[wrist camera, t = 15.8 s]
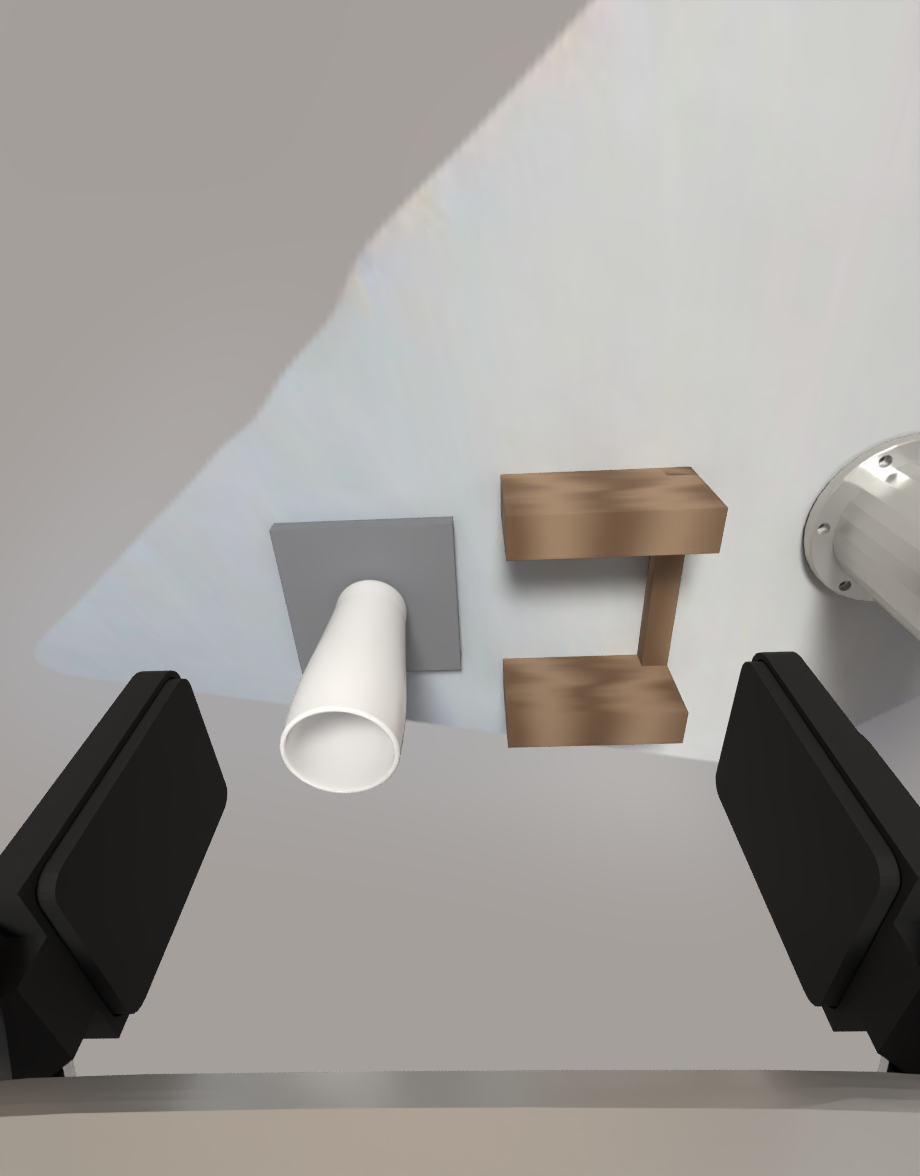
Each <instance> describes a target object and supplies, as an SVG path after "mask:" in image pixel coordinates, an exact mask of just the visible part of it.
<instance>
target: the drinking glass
mask: <svg viewBox="0 0 920 1176" xmlns="http://www.w3.org/2000/svg"><path fill="white" fill-rule="evenodd" d="M406 620H407V608H406V604H405V601H404V599H403V597H402V596H401V594H400V593H399V592H398V591H397V590H396V589H395V588H393V587H392V586H390V585H389V584H387V583H384V582H381V581H377V580H362V581H358V582H355V583H353V584H351V585H349V586H348V587H347V588H346V589H344V590H343V592H342V593H341V594H340V596H339V598H338V600H337V602H336V605H335V608H334V611H333V614H332V616H331V618H330V620H329V622H328V624H327V626H326V628H325V630H324V632H323V634H322V636H321V638H320V640H319V642H318V645H317V647H316V649H315V651H314V653H313V655H312V657H311V659H310V661H309V663H308V665H307V667H306V669H305V671H304V673H303V675H302V677H301V679H300V681H299V684H298V686H297V688H296V691H295V693H294V696H293V699H292V701H291V704H290V708H289V710H288V714H287V717H286V721H285V724H284V728H283V732H282V735H281V739H280V752H281V756H282V758H283V761H284V763H285V764H286V766H287V767H288V769H289V770H290V771H291V772H292V773H293V774H294V775H295V776H296V777H298V778H299V779H300V780H302V781H303V782H305V783H306V784H308V785H310V786H312V787H315V788H318V789H320V790H324V791H328V792H334V793H357V792H362V791H366V790H369V789H372V788H374V787H377V786H379V785H380V784H382V783H383V782H385V781H386V780H387V779H388V778H389V777H390V776H391V775H392V774H393V773H394V771H395V770H396V768H397V766H398V763H399V760H400V754H401V747H402V743H403V736H404V729H405V720H406V703H407V690H406Z"/></svg>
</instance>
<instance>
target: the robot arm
mask: <svg viewBox="0 0 920 1176" xmlns="http://www.w3.org/2000/svg"><path fill="white" fill-rule="evenodd" d="M804 549H805V556H806V559H807V561H808V564H809V566H810V568H811V570H812V571H813V572H814V574H815V575H816V576H817V578H818V579H819V580H820V581H821V582H822V583H824V584H825V585H826V586H827V587H828V588H829V589H830V590H832V591H834V592H835V593H837V594H839V595H841V596H844V597H847V598H850V599H854V600H861V601H876V602H878V603H879V604H880V605H881V606H882V607H883V608H884V609H885V610H886V611H887V612H888V613H889V614H891V615H892V616H893V617H894V618H895V619H896V620H897V621H898V622H899V623H900V624H901V625H902V626H904V627H905V628H906V629H907V630H908V631H909V632H910V633H911V634H912V635H913V636H914V637H915V638H917V639H918V640H919V641H920V433H918V434H913V435H909V436H904V437H899V438H896V439H894V440H891V441H888V442H886V443H883V444H881V445H878V446H877V447H875V448H873V449H871V450H869V451H867V452H866V453H864V454H862V455H860V456H859V457H858V458H856V459H855V460H854V461H852V462H851V463H850V464H848V465H847V466H846V467H844V468H843V469H842V470H841V471H840V472H839V473H838V474H837V475H836V476H835V477H834V478H833V479H832V480H831V481H830V482H829V484H828V485H827V486H826V488H825V489H824V490H823V491H822V493H821V494H820V495H819V497H818V499H817V501H816V502H815V504H814V506H813V508H812V510H811V512H810V515H809V518H808V521H807V524H806V527H805V535H804ZM716 788H717V792H718V795H719V798H720V800H721V803H722V805H723V807H724V809H725V812H726V814H727V816H728V818H729V821H730V823H731V825H732V828H733V830H734V832H735V834H736V837H737V839H738V841H739V844H740V846H741V848H742V850H743V853H744V855H745V857H746V860H747V862H748V864H749V866H750V869H751V871H752V873H753V875H754V878H755V880H756V882H757V885H758V887H759V889H760V892H761V894H762V896H763V898H764V901H765V903H766V905H767V908H768V910H769V912H770V914H771V916H772V919H773V921H774V923H775V926H776V928H777V930H778V933H779V935H780V937H781V939H782V941H783V944H784V946H785V948H786V951H787V953H788V955H789V958H790V960H791V962H792V964H793V966H794V969H795V971H796V974H797V976H798V978H799V980H800V983H801V985H802V987H803V990H804V991H805V993H806V995H807V997H808V999H809V1000H810V1002H811V1003H812V1004H813V1005H815V1006H822V1008H823V1010H824V1012H825V1014H826V1016H827V1019H828V1021H829V1023H830V1025H831V1027H832V1030H833V1031H835V1032H837V1031H867V1033H868V1035H869V1037H870V1039H871V1040H872V1043H873V1045H874V1047H875V1049H876V1051H877V1053H878V1054H880V1055H881V1060H880V1064H879V1068H878V1072H851V1071H849V1072H847V1071H846V1072H845V1071H790V1070H540V1071H538V1070H536V1071H535V1070H532V1071H531V1070H529V1071H395V1072H394V1071H393V1072H392V1071H391V1072H298V1073H297V1072H294V1073H293V1072H292V1073H214V1074H143V1075H112V1076H82V1077H76V1072H75V1068H74V1063H73V1059H74V1056H75V1054H76V1052H77V1050H78V1048H79V1046H80V1044H81V1042H82V1040H83V1039H91V1038H92V1039H95V1038H96V1039H98V1038H119V1037H120V1034H121V1032H122V1030H123V1027H124V1025H125V1022H126V1020H127V1018H128V1016H129V1014H134V1013H135V1012H137V1011H138V1010H139V1008H140V1007H141V1006H142V1004H143V1002H144V1000H145V998H146V995H147V993H148V991H149V988H150V986H151V983H152V981H153V979H154V976H155V974H156V971H157V969H158V967H159V964H160V962H161V960H162V957H163V955H164V952H165V950H166V947H167V945H168V943H169V940H170V938H171V936H172V933H173V931H174V928H175V926H176V924H177V921H178V919H179V916H180V914H181V912H182V909H183V907H184V904H185V902H186V900H187V897H188V895H189V892H190V890H191V888H192V885H193V883H194V880H195V878H196V876H197V873H198V871H199V869H200V866H201V864H202V861H203V859H204V857H205V854H206V852H207V849H208V847H209V845H210V842H211V840H212V837H213V835H214V833H215V830H216V828H217V825H218V823H219V821H220V818H221V816H222V813H223V811H224V808H225V805H226V801H227V787H226V783H225V780H224V778H223V775H222V772H221V769H220V766H219V764H218V761H217V758H216V755H215V752H214V749H213V747H212V744H211V741H210V738H209V736H208V733H207V730H206V727H205V724H204V721H203V719H202V716H201V713H200V710H199V707H198V704H197V702H196V699H195V696H194V693H193V690H192V687H191V685H190V683H189V681H188V680H187V679H181V678H180V676H179V674H178V673H177V672H175V671H143V672H139V673H136V674H135V675H134V676H133V677H132V679H131V680H130V681H129V683H128V684H127V685H126V687H125V688H124V689H123V691H122V692H121V694H120V695H119V696H118V697H117V699H116V700H115V702H114V703H113V704H112V706H111V707H110V708H109V710H108V711H107V712H106V714H105V715H104V716H103V718H102V719H101V721H100V722H99V723H98V724H97V726H96V727H95V728H94V730H93V731H92V732H91V734H90V735H89V737H88V738H87V739H86V741H85V742H84V743H83V745H82V746H81V747H80V749H79V750H78V751H77V753H76V754H75V755H74V757H73V758H72V759H71V761H70V762H69V764H68V765H67V766H66V768H65V769H64V770H63V772H62V773H61V774H60V776H59V777H58V778H57V780H56V781H55V782H54V784H53V785H52V786H51V788H50V789H49V790H48V792H47V793H46V794H45V796H44V797H43V799H42V800H41V802H40V803H39V804H38V805H37V807H36V808H35V809H34V811H33V812H32V814H31V815H30V816H29V818H28V819H27V820H26V822H25V823H24V824H23V826H22V827H21V828H20V829H19V831H18V832H17V834H16V835H15V836H14V838H13V839H12V840H11V842H10V843H9V844H8V846H7V847H6V849H5V850H4V851H3V852H2V854H1V855H0V1176H920V807H919V805H918V804H917V803H916V802H915V800H914V799H913V798H912V796H911V795H910V794H909V792H908V791H907V790H906V789H905V787H904V786H903V785H902V783H901V782H900V781H899V780H898V778H897V777H896V776H895V774H894V773H893V772H892V771H891V769H890V768H889V767H888V765H887V764H886V763H885V762H884V760H883V759H882V758H881V756H880V755H879V754H878V752H877V751H876V750H875V749H874V747H873V746H872V745H871V743H870V742H869V741H868V740H867V739H866V738H865V737H864V736H863V735H861V734H860V733H859V732H858V731H857V729H856V728H855V727H854V725H853V724H852V723H851V722H850V720H849V719H848V718H847V716H846V715H845V714H844V712H843V711H842V710H841V709H840V707H839V706H838V705H837V703H836V702H835V701H834V699H833V698H832V697H831V696H830V694H829V693H828V692H827V690H826V689H825V688H824V686H823V685H822V684H821V683H820V681H819V680H818V679H817V677H816V676H815V675H814V673H813V672H812V671H811V670H810V668H809V667H808V666H807V664H806V663H805V662H804V660H803V659H802V658H801V657H800V656H799V655H798V654H797V653H795V652H762V653H757V654H755V656H754V657H753V659H752V662H745V663H744V664H743V666H742V669H741V672H740V677H739V681H738V685H737V689H736V693H735V697H734V701H733V706H732V710H731V714H730V718H729V722H728V726H727V731H726V735H725V739H724V743H723V747H722V751H721V755H720V760H719V764H718V768H717V773H716Z"/></svg>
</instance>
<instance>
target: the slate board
mask: <svg viewBox="0 0 920 1176" xmlns="http://www.w3.org/2000/svg"><path fill="white" fill-rule="evenodd" d="M269 531H270V536H271V540H272V544H273V549H274V553H275V557H276V562H277V566H278V571H279V575H280V579H281V584H282V588H283V592H284V597H285V601H286V605H287V610H288V614H289V618H290V623H291V627H292V631H293V636H294V640H295V644H296V649H297V653H298V657H299V662H300V666H301V670H302V674H303V673H304V671H305V669H306V667H307V665H308V663H309V661H310V659H311V657H312V655H313V653H314V651H315V649H316V647H317V645H318V642H319V640H320V638H321V636H322V634H323V632H324V630H325V628H326V626H327V624H328V622H329V620H330V618H331V616H332V614H333V611H334V608H335V605H336V602H337V600H338V598H339V596H340V594H341V593H342V592H343V590H344V589H346V588H347V587H348V586H349V585H351V584H353V583H355V582H358V581H362V580H377V581H381V582H384V583H387V584H389V585H390V586H392V587H393V588H395V589H396V590H397V591H398V592H399V593H400V594H401V596H402V597H403V599H404V601H405V604H406V608H407V620H406V671H430V670H461V652H460V635H459V618H458V601H457V584H456V567H455V549H454V532H453V517H429V518H403V519H377V520H352V521H326V522H301V523H275V524H273V526H272V527H271V529H270V530H269Z"/></svg>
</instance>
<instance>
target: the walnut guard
mask: <svg viewBox="0 0 920 1176" xmlns="http://www.w3.org/2000/svg"><path fill="white" fill-rule="evenodd" d="M727 511H728V507H727V506H726V505H725V504H724V503H723V502H722V501H721V499H720V498H719V497H718V496H717V495H716V494H715V493H714V492H713V491H712V490H711V489H710V487H709V486H708V485H707V484H706V483H705V482H704V481H703V480H702V479H701V478H700V477H699V475H698V474H697V473H696V472H695V471H694V470H693V469H692V468H691V467H674V468H649V469H625V470H601V471H577V472H552V473H528V474H504V475H501V518H502V527H503V535H504V544H505V553H506V561H514V560H542V559H570V558H597V557H625V556H650V559H649V567H648V574H647V582H646V590H645V598H644V606H643V614H642V621H641V629H640V637H639V645H638V653H637V655H613V656H580V657H548V658H515V659H503V683H504V699H505V713H506V726H507V739H508V747H509V748H511V747H550V746H589V745H628V744H668V743H683V738H684V733H685V728H686V723H687V717H688V711H687V709H686V707H685V704H684V702H683V700H682V698H681V695H680V693H679V691H678V689H677V687H676V684H675V682H674V680H673V678H672V675H671V673H670V671H669V669H668V667H667V662H668V656H669V650H670V644H671V637H672V631H673V625H674V619H675V612H676V606H677V600H678V594H679V588H680V581H681V575H682V569H683V563H684V556H685V554H708V553H719V552H720V547H721V542H722V536H723V531H724V526H725V521H726V516H727Z"/></svg>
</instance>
